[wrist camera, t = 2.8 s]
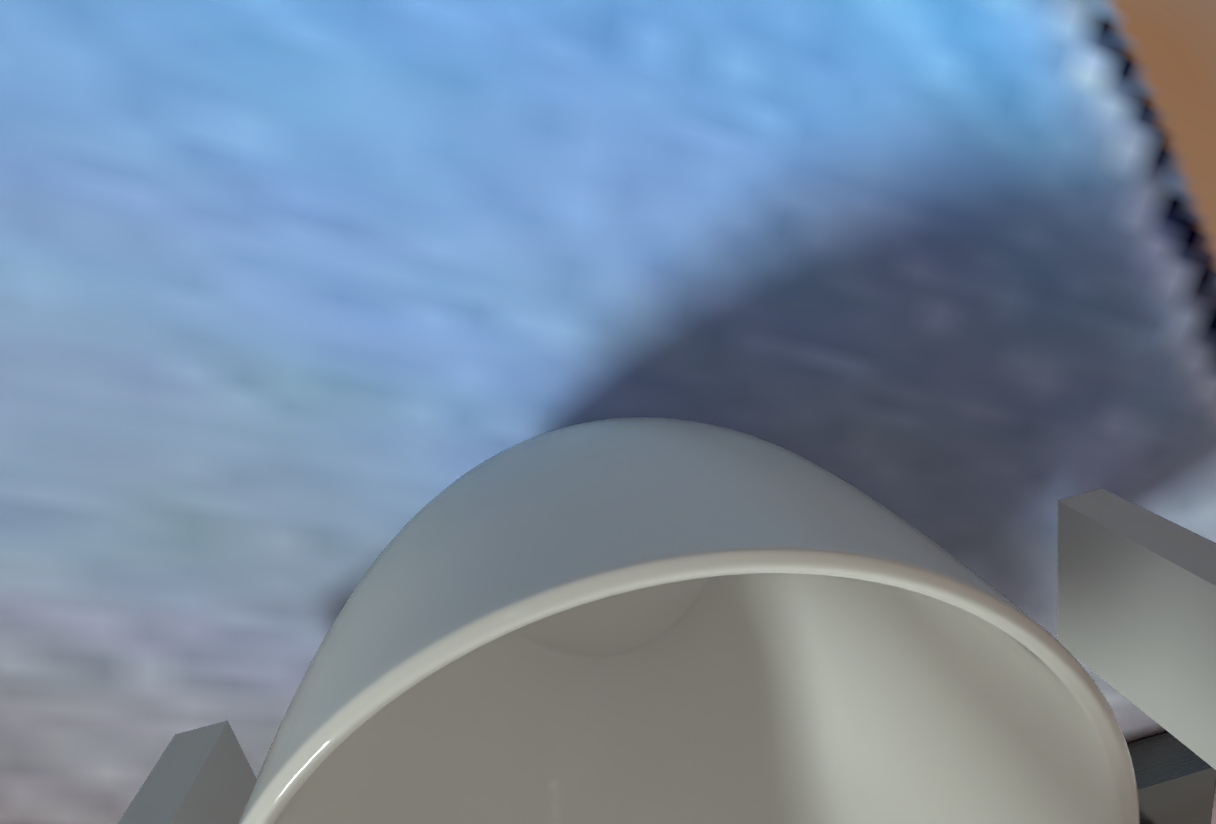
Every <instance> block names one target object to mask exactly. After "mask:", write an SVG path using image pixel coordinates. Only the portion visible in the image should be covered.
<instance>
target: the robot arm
mask: <svg viewBox="0 0 1216 824" xmlns="http://www.w3.org/2000/svg"><path fill="white" fill-rule="evenodd" d="M1058 641H1059V642H1060V643H1061V644H1062V645H1063V646H1064V647H1065V648H1066V649H1067V650H1068V651H1069V652H1070V653H1071V654H1072V655H1074V656H1075V657H1076V658H1077V659H1079V660H1080V661H1081V662H1082V663H1084V664H1085V665H1086V666H1087V667H1089V668H1090V669H1091V670H1092V671H1093V672H1095V673H1096V674H1097V675H1098V676H1100V677H1101V678H1102V679H1103V680H1105V681H1106V682H1107V683H1108V684H1110V685H1111V686H1112V687H1113V688H1115V689H1116V690H1117V691H1118V692H1120V693H1121V694H1122V695H1123V696H1124V697H1126V698H1127V699H1128V700H1129V701H1131V702H1132V703H1133V704H1134V705H1136V706H1137V707H1138V708H1139V709H1141V710H1142V711H1143V712H1144V713H1146V714H1147V715H1148V716H1149V717H1151V718H1152V719H1153V720H1154V721H1155V722H1157V723H1158V724H1159V725H1160V726H1162V727H1163V728H1164V729H1165V730H1167V731H1168V732H1169V733H1170V734H1172V735H1173V736H1174V737H1175V738H1177V739H1178V740H1179V741H1180V742H1182V743H1183V744H1184V745H1185V746H1186V747H1188V748H1189V749H1190V750H1191V751H1193V752H1194V753H1195V754H1196V755H1198V756H1199V757H1200V758H1201V759H1203V760H1204V761H1205V762H1206V763H1208V764H1209V765H1210V766H1211V767H1212V768H1214V769H1215V770H1216V543H1215V542H1213V541H1211V540H1208V539H1206V538H1204V537H1202V536H1200V535H1198V534H1196V533H1194V532H1192V531H1190V530H1188V529H1186V528H1184V527H1182V526H1179V525H1177V524H1175V523H1173V522H1171V521H1169V520H1167V519H1165V518H1163V517H1161V516H1159V515H1157V514H1155V513H1152V512H1150V511H1148V510H1146V509H1144V508H1142V507H1140V506H1138V505H1136V504H1134V503H1132V502H1130V501H1128V500H1126V499H1123V498H1121V497H1119V496H1117V495H1115V494H1113V493H1111V492H1109V491H1107V490H1105V489H1103V488H1102V489H1098V490H1094V491H1091V492H1087V493H1083V494H1079V495H1075V496H1072V497H1068V498H1064V499H1060V500H1058ZM255 782H256V777H255V775H254V773H253V771H252V769H251V767H250V765H249V763H248V761H247V759H246V756H245V754H244V752H243V750H242V748H241V746H240V744H239V742H238V740H237V738H236V736H235V734H234V732H233V730H232V728H231V726H230V724H229V722H228V721H224V722H220V723H217V724H213V725H209V726H205V727H202V728H198V729H194V730H190V731H186V732H183V733H179V734H175V736H174V737H173V739H172V740H171V742H170V743H169V745H168V746H167V748H166V750H165V751H164V753H163V754H162V756H161V757H160V759H159V760H158V762H157V764H156V765H155V767H154V768H153V770H152V771H151V773H150V774H149V776H148V778H147V779H146V781H145V782H144V784H143V785H142V787H141V788H140V790H139V792H138V793H137V795H136V796H135V798H134V799H133V801H132V802H131V804H130V806H129V807H128V809H127V810H126V812H125V813H124V815H123V816H122V818H121V819H120V821H119V823H118V824H238V821H239V819H240V817H241V814H242V812H243V810H244V807H245V805H246V803H247V800H248V798H249V796H250V793H251V791H252V789H253V786H254V784H255Z"/></svg>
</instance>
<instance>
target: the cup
mask: <svg viewBox="0 0 1216 824" xmlns="http://www.w3.org/2000/svg"><path fill="white" fill-rule="evenodd" d="M238 824H1140V815H1139V799H1138V789H1137V783H1136V777H1135V772H1134V767H1133V763H1132V759H1131V755H1130V752H1129V749H1128V746H1127V743H1126V740H1125V737H1124V735H1123V732H1122V730H1121V727H1120V725H1119V723H1118V721H1117V719H1116V717H1115V715H1114V713H1113V710H1112V709H1111V707H1110V705H1109V704H1108V702H1107V700H1106V698H1105V697H1104V695H1103V693H1102V692H1101V690H1100V689H1099V687H1098V686H1097V684H1096V683H1095V681H1094V680H1093V679H1092V678H1091V676H1090V675H1089V674H1088V672H1087V671H1086V670H1085V669H1084V667H1083V666H1082V665H1081V664H1080V663H1079V662H1078V661H1077V659H1076V658H1075V657H1074V656H1073V655H1072V654H1071V653H1070V652H1069V651H1068V650H1067V649H1066V648H1065V647H1064V646H1063V645H1062V644H1061V643H1060V642H1059V641H1058V640H1057V639H1056V638H1055V637H1053V636H1052V635H1051V634H1050V633H1049V632H1047V631H1046V630H1045V629H1044V628H1043V627H1041V626H1040V625H1039V624H1038V623H1037V622H1036V621H1034V620H1033V619H1032V618H1031V617H1029V616H1028V615H1027V614H1026V613H1024V612H1023V611H1022V610H1021V609H1020V608H1018V607H1017V606H1016V605H1015V604H1013V603H1012V602H1011V601H1010V600H1008V599H1007V598H1006V597H1005V596H1004V595H1002V594H1001V593H1000V592H999V591H997V590H996V589H995V588H994V587H992V586H991V585H990V584H989V583H987V582H986V581H985V580H984V579H982V578H981V577H980V576H979V575H977V574H976V573H975V572H973V571H972V570H971V569H970V568H968V567H967V566H966V565H964V564H963V563H962V562H961V561H959V560H958V559H957V558H955V557H954V556H953V555H951V554H950V553H949V552H947V551H946V550H945V549H943V548H942V547H941V546H939V545H938V544H937V543H935V542H934V541H933V540H931V539H930V538H929V537H927V536H926V535H925V534H923V533H922V532H920V531H919V530H918V529H916V528H915V527H914V526H912V525H911V524H909V523H908V522H906V521H905V520H903V519H902V518H901V517H899V516H898V515H896V514H895V513H893V512H892V511H891V510H889V509H888V508H886V507H885V506H883V505H882V504H880V503H879V502H877V501H876V500H874V499H873V498H871V497H870V496H868V495H867V494H865V493H864V492H862V491H861V490H859V489H857V488H856V487H854V486H853V485H851V484H850V483H848V482H846V481H845V480H843V479H841V478H840V477H838V476H836V475H835V474H833V473H831V472H830V471H828V470H826V469H824V468H822V467H821V466H819V465H817V464H815V463H814V462H812V461H810V460H808V459H806V458H804V457H802V456H800V455H798V454H796V453H794V452H792V451H789V450H787V449H785V448H783V447H781V446H778V445H776V444H773V443H771V442H768V441H766V440H763V439H760V438H758V437H755V436H752V435H750V434H746V433H743V432H740V431H737V430H733V429H729V428H725V427H721V426H716V425H711V424H707V423H702V422H697V421H690V420H684V419H674V418H661V417H625V418H611V419H603V420H595V421H589V422H584V423H579V424H575V425H570V426H566V427H563V428H559V429H556V430H552V431H549V432H546V433H543V434H540V435H538V436H535V437H533V438H530V439H528V440H525V441H523V442H521V443H518V444H516V445H514V446H512V447H510V448H508V449H506V450H504V451H502V452H500V453H498V454H497V455H495V456H493V457H491V458H489V459H488V460H486V461H484V462H483V463H481V464H479V465H478V466H476V467H474V468H473V469H471V470H470V471H468V472H467V473H466V474H464V475H463V476H461V477H460V478H459V479H457V480H456V481H455V482H453V483H452V484H451V485H449V486H448V487H447V488H446V489H444V490H443V491H442V492H441V493H440V494H438V495H437V496H436V497H435V498H434V499H432V500H431V501H430V502H429V503H428V504H427V505H426V506H424V507H423V508H422V509H421V510H420V511H419V512H418V513H417V514H416V515H415V516H414V517H413V518H412V519H411V520H410V521H409V522H408V523H407V524H406V525H405V526H404V527H403V529H402V530H401V531H400V532H399V533H398V534H397V535H396V536H395V538H394V539H393V540H392V541H391V542H390V543H389V544H388V545H387V547H386V548H385V549H384V550H383V551H382V552H381V554H380V555H379V556H378V558H377V559H376V560H375V561H374V563H373V564H372V565H371V567H370V568H369V569H368V571H367V572H366V574H365V575H364V577H363V578H362V579H361V581H360V582H359V584H358V585H357V586H356V588H355V589H354V591H353V592H352V593H351V595H350V596H349V598H348V600H347V601H346V603H345V604H344V606H343V607H342V609H341V611H340V612H339V614H338V616H337V617H336V619H335V621H334V622H333V624H332V626H331V627H330V629H329V631H328V632H327V634H326V636H325V638H324V640H323V641H322V643H321V645H320V647H319V649H318V650H317V652H316V654H315V656H314V658H313V660H312V661H311V663H310V665H309V667H308V669H307V671H306V673H305V675H304V677H303V679H302V681H301V683H300V685H299V687H298V689H297V691H296V693H295V695H294V697H293V699H292V701H291V703H290V705H289V707H288V710H287V712H286V714H285V716H284V718H283V720H282V722H281V724H280V727H279V729H278V731H277V733H276V736H275V738H274V740H273V742H272V744H271V747H270V749H269V751H268V754H267V756H266V758H265V761H264V763H263V765H262V768H261V770H260V772H259V775H258V777H257V779H256V782H255V784H254V786H253V789H252V791H251V793H250V796H249V798H248V800H247V803H246V805H245V807H244V810H243V812H242V814H241V817H240V819H239V821H238Z"/></svg>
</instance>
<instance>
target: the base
mask: <svg viewBox="0 0 1216 824" xmlns="http://www.w3.org/2000/svg"><path fill="white" fill-rule="evenodd" d="M1127 746H1128V749H1129V752H1130V755H1131V759H1132V763H1133V767H1134V772H1135V777H1136V783H1137V789H1138V799H1139V815H1140V824H1211V817H1212V808H1213V800H1214V791H1215V783H1216V770H1215V769H1214V768H1212V767H1211V766H1210V765H1209V764H1208V763H1206V762H1205V761H1204V760H1203V759H1201V758H1200V757H1199V756H1198V755H1196V754H1195V753H1194V752H1193V751H1191V750H1190V749H1189V748H1188V747H1186V746H1185V745H1184V744H1183V743H1182V742H1180V741H1179V740H1178V739H1177V738H1175V737H1174V736H1173V735H1172V734H1170V733H1169V732H1166V733H1163V734H1159V735H1156V736H1153V737H1149V738H1146V739H1143V740H1139V741H1136V742H1132V743H1129V744H1127Z"/></svg>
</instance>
